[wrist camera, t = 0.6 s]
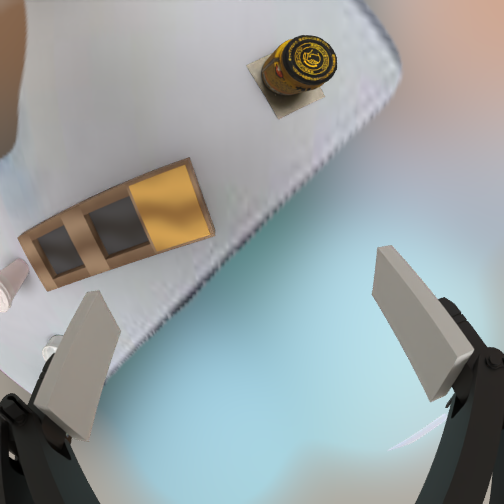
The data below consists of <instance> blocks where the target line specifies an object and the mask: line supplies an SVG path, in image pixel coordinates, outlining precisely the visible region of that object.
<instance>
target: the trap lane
mask: <svg viewBox="0 0 504 504" xmlns="http://www.w3.org/2000/svg"><path fill="white" fill-rule="evenodd" d="M213 236H215V228H214V225H213V223H212V220H211V217H210V214H209V212H208V209H207V206H206V203H205V200H204V198H203V195H202V192H201V189H200V186H199V183H198V181H197V178H196V175H195V172H194V169H193V166H192V163H191V160H190V157H189V158H186V159H183V160H180V161H177V162H175V163H172V164H169V165H166V166H164V167H161V168H159V169H156V170H153V171H151V172H148V173H146V174H143V175H141V176H138V177H136V178H133V179H131V180H129V181H126V182H124V183H122V184H119V185H117V186H115V187H112V188H110V189H108V190H106V191H103V192H101V193H99V194H97V195H95V196H93V197H90V198H88V199H86V200H84V201H82V202H80V203H78V204H76V205H74V206H72V207H70V208H68V209H66V210H64V211H62V212H60V213H58V214H56V215H54V216H53V217H51V218H49V219H47V220H45V221H43V222H41V223H40V224H38V225H36V226H34V227H32V228H31V229H29V230H27V231H26V232H24V233H22V234H21V235H20V236H19V237H18V240H19V242H20V244H21V246H22V248H23V250H24V252H25V254H26V256H27V258H28V260H29V261H30V263H31V265H32V267H33V269H34V270H35V272H36V274H37V276H38V277H39V279H40V281H41V282H42V284H43V286H44V287H45V289H46V290H47V292H48V291H51V290H54V289H57V288H59V287H62V286H65V285H68V284H71V283H73V282H76V281H79V280H82V279H85V278H88V277H91V276H94V275H96V274H99V273H102V272H105V271H108V270H111V269H114V268H117V267H120V266H123V265H126V264H129V263H132V262H135V261H138V260H141V259H144V258H147V257H150V256H153V255H156V254H159V253H163V252H166V251H169V250H172V249H175V248H178V247H181V246H184V245H188V244H191V243H194V242H197V241H200V240H204V239H207V238H210V237H213Z"/></svg>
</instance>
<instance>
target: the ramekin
mask: <svg viewBox="0 0 504 504" xmlns="http://www.w3.org/2000/svg"><path fill="white" fill-rule="evenodd" d="M62 338H63V336H61V335H56V336H53V337H52V338H51V339H50V341H49V342H48V343H47V345H46V346H45V347H44V348H43V350H42V354H43V357H44V359H45V361H47V360H48V359H49V357H50V356H51V355H52V354H53V353H55V352H56V350H57V348H58V346H59V344H60V342H61V340H62Z"/></svg>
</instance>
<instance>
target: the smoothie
mask: <svg viewBox="0 0 504 504" xmlns="http://www.w3.org/2000/svg"><path fill="white" fill-rule="evenodd" d="M28 274H29V268H28V265H27V263H26V262H25V261H24V260H22V259H16V260H15V261H14V262H12V263H11V264H9V265H8V266H7V267H5V268H4V269H2V270H1V271H0V312H7V311H8V309H9V308H10V307H11V302H12V300H13V299H14V297H15V295H16V293H17V292H18V290H19V288H20V287H21V285H22V283H23V282H24V280H25V278H26V277H27V275H28Z"/></svg>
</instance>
